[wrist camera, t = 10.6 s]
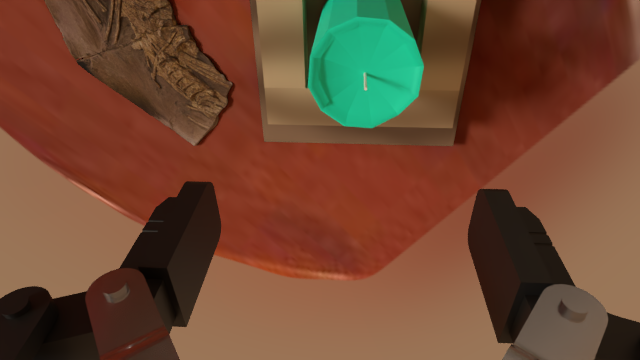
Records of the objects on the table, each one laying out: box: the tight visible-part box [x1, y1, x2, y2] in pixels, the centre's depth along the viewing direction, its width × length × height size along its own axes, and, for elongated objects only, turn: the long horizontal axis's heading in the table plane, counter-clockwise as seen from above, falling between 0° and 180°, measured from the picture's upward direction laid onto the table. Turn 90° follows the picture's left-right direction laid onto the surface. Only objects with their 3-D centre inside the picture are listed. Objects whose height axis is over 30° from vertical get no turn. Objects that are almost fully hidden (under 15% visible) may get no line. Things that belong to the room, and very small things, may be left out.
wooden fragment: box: [44, 0, 232, 146], centre depth 32 cm, size 26×11×1 cm, turn 23°
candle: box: [308, 0, 424, 128], centre depth 25 cm, size 6×6×12 cm
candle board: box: [250, 0, 481, 146], centre depth 30 cm, size 20×16×4 cm
